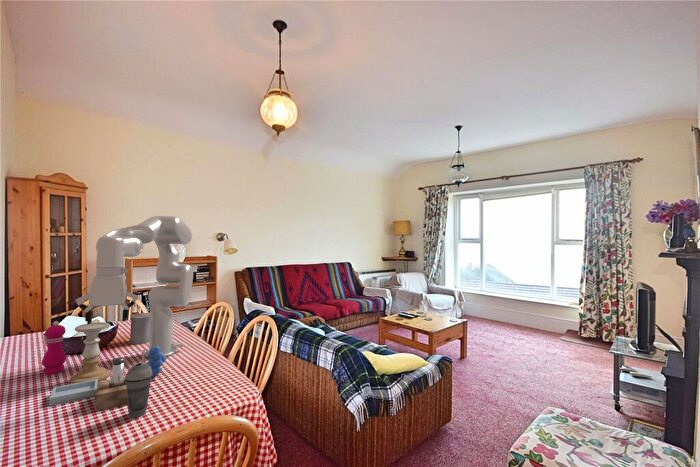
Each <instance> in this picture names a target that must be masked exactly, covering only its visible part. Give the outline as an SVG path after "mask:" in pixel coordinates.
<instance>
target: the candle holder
mask: <svg viewBox="0 0 700 467" xmlns="http://www.w3.org/2000/svg"><path fill="white" fill-rule="evenodd" d="M109 327H110V323H108V322H103V321H100V322H99V321H97V322H91V323H90V324H87V323H84V324H79V325H78V326H75V327H74V331H75V332H78V333H83V335H85V336H86V338H85V339H84V340H83V344H84V345H85V346H84V347H83V348H84V349H83V351H82V354H81V356H82V358H83V359H82V360H81V361H80V362H81V364H82V365H83V367H82V369H80V370H79V371H77V372H76V373H74V374H72V375H71V376H70V378H69V379H68V381H69V383H70V384H75V383H80V382H85V381H91V380H96V379H98V382H100V381H105V379H106V380H107V378H109V376H110V375H111V370H110V369H109V368H105V367H102V366H99V362H100V361H101V359H102V358H101V357H100V355H101V349H100V345H99V342H100V341H101V339H100V338H99V334H100V333H101V331H102V330H106V329H108V328H109ZM70 384H69V385H70Z"/></svg>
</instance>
